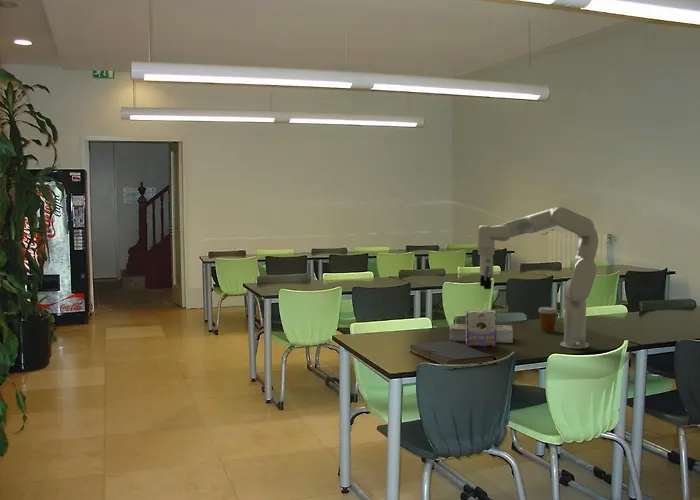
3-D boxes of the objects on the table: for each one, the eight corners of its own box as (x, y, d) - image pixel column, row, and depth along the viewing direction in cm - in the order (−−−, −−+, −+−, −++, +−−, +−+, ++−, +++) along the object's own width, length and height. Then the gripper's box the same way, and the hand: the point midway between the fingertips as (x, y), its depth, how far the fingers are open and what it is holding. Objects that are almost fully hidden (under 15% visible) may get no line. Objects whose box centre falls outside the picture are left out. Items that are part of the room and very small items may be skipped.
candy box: (495, 344, 318) (495, 309, 317) (496, 347, 312) (496, 312, 311) (465, 343, 319) (465, 309, 318) (466, 346, 313) (466, 311, 312)
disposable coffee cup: (554, 333, 340) (554, 310, 339) (535, 331, 345) (536, 308, 344) (559, 330, 348) (559, 307, 347) (540, 328, 353) (541, 306, 352)
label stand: (511, 337, 332) (511, 324, 332) (512, 342, 321) (512, 329, 320) (450, 335, 338) (450, 323, 338) (449, 340, 326) (449, 327, 326)
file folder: (409, 343, 304) (455, 339, 314) (409, 352, 305) (455, 348, 314) (446, 359, 274) (496, 354, 283) (446, 369, 274) (496, 364, 284)
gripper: (497, 253, 306) (497, 290, 308) (490, 249, 324) (489, 285, 325) (481, 252, 307) (480, 290, 308) (475, 249, 324) (474, 285, 325)
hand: (485, 287), depth 317 cm, fingers open, 9 cm apart
